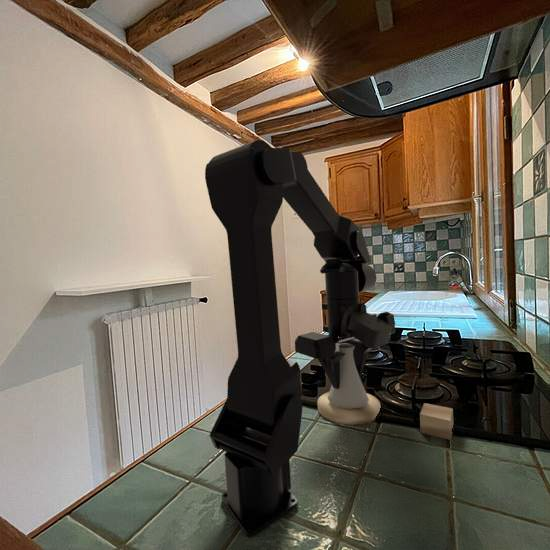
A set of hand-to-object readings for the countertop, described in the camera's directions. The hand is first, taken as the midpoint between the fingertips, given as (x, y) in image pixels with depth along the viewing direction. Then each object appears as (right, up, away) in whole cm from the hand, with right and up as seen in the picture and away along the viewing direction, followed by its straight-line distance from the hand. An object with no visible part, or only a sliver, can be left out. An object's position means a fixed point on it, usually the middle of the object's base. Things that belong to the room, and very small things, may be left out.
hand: (346, 384), depth 54 cm
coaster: (0, -4, 0) cm, 5 cm away
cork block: (+12, -4, -8) cm, 15 cm away
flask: (0, -3, 0) cm, 3 cm away
